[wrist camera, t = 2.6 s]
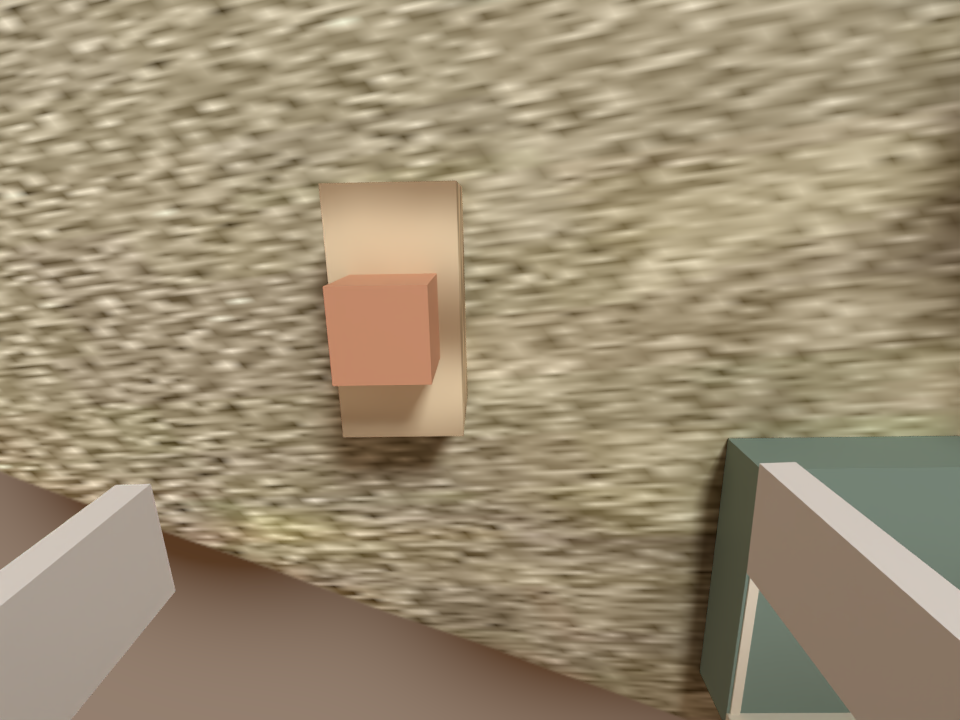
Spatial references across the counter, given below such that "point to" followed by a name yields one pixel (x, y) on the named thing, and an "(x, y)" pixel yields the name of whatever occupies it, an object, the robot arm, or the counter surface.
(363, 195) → the tan rectangular block
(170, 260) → the counter surface
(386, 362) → the orange cube
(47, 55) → the counter surface
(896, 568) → the robot arm
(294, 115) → the counter surface
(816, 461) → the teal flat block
